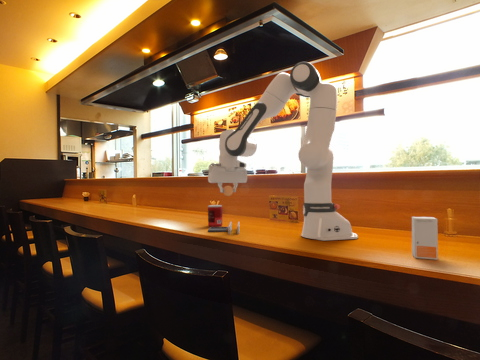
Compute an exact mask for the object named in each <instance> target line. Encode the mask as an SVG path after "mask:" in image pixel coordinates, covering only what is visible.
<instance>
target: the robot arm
mask: <svg viewBox="0 0 480 360" xmlns="http://www.w3.org/2000/svg"><path fill="white" fill-rule="evenodd" d="M294 95H296V96H300V97H305V98H309V100H310V102H309V109H308V117H307V125H306V130H305V134H304V137H303V140H302V145H301V147H300V148H299V150H298V160H299V161H300V163H301V164H302V166H303V167H305V168H306V174H305V180H304V182H303V193H304V194H303V195H304V196H303V201H304V202H303V205H302V209H303V210H302V214H303V225H302V230H301V231H302V232H301V234H300V236H301V237H303V238H306V239H312V240H318V241H338V240H339V241H340V240H357V239H358V238H359V235H358V234H357V233H355V232H353V229H352V225H351V223H350V221H349V220H348V219H346V218H345V217H344V216H343V215H341V214H340V213H339V212H337V210H339V209H340V208H341V205H340V204H338V203H333V202H332V179H333V169H334V168H333V167H334V166H333V165H334V154H333V151H332V150H331V148H330V145H331V144H330V143H331V140H332V137H333V133H334V131H335V127H336V126H335V125H336V118H337V110H338V89H337V86H335V85H334V84H333V83H330V82H323V80H322V78H321V75H320V73H319V71H318V70H317V68H316V67H315V66H314V65H313V64H312V63H310V62H308V61H299V62H297V63H296V64H295V65H294V66H293V67H292V68H291V70H290V74H289V73H287V72H280V73H278V74H277V75H276V76H275V77H274V78H273V79H272V80H271V82H270V83H269V84H268V86H267V87H266V89H265V90H264V92H263V93H262V95H261V96H260V98H259V99H258V101H257V102H256V103H255V104H254V105H253V106H252V107H251V108H250V109H249V111H248V113H247V114H246V115H245V116H244V117H243V119H242V121H241V122H240V123H239V125H238V126H237V127H236V129H233V128H232V129H225V130H223V131H221V133H220V136H219V147H218V148H219V156H218V159H219V160H218V162H217V163H214V162H213V163H212V162H211V164H209V165H208V175H207V182H208V183H210V184H217V186H218V188H219V193H223V194H224V189H223V188H224V187H223V184H224V183H225V184H226V183H227V184H228V183H229V184H232V185H233V187H232V188H233V193H236V192H237V188H238V186H239V184H240V183H241V184H246V183H247V182H248V170H247V163H245V162H243V161H241V160H238V157H244V158H248V157H251V156H253V155H255V153H256V151H257V142H256V140H255V139H254V138H252V137H251V134H252V133H253V132H254V131H255V129H256V128H257V126H258V125H259V124H260V123H261V122H262V121H264V120H267V119H269V118H274V117H277V116H278V115H279V114H280V113H281V112H282V110H283V109H284V107H285V106H286V105H287V103H288V101H289V100H290V98H291V97H292V96H294Z"/></svg>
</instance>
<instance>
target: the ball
mask: <svg viewBox="0 0 480 360" xmlns="http://www.w3.org/2000/svg"><path fill="white" fill-rule="evenodd" d="M222 188H223V189H224V193H223V195H224V196H227V197H230V196H232V195H233V193H234V192H233V187H232V186H231V185H225V186H224V187H222Z"/></svg>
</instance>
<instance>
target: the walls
mask: <svg viewBox="0 0 480 360" xmlns="http://www.w3.org/2000/svg"><path fill="white" fill-rule="evenodd" d="M232 223H233V222H232V221H230V222H229V224H228V235H231V233H232V226H233V225H232ZM240 227H241V225H240V221H238V222H237V229H236V231H237V233H236V234H237V235H240Z"/></svg>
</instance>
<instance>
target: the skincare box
mask: <svg viewBox="0 0 480 360" xmlns="http://www.w3.org/2000/svg"><path fill="white" fill-rule="evenodd" d="M438 222H439V220H438V218H436V217H434V216H411V256H413V258H415V259H421V260H423V259H424V260H426V259H427V260H435V261H436V260H437V261H438V259H439V257H438V256H439V254H438V253H439V250H438V249H439V242H438V240H439V239H438V234H439V233H438V228H439V227H438Z"/></svg>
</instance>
